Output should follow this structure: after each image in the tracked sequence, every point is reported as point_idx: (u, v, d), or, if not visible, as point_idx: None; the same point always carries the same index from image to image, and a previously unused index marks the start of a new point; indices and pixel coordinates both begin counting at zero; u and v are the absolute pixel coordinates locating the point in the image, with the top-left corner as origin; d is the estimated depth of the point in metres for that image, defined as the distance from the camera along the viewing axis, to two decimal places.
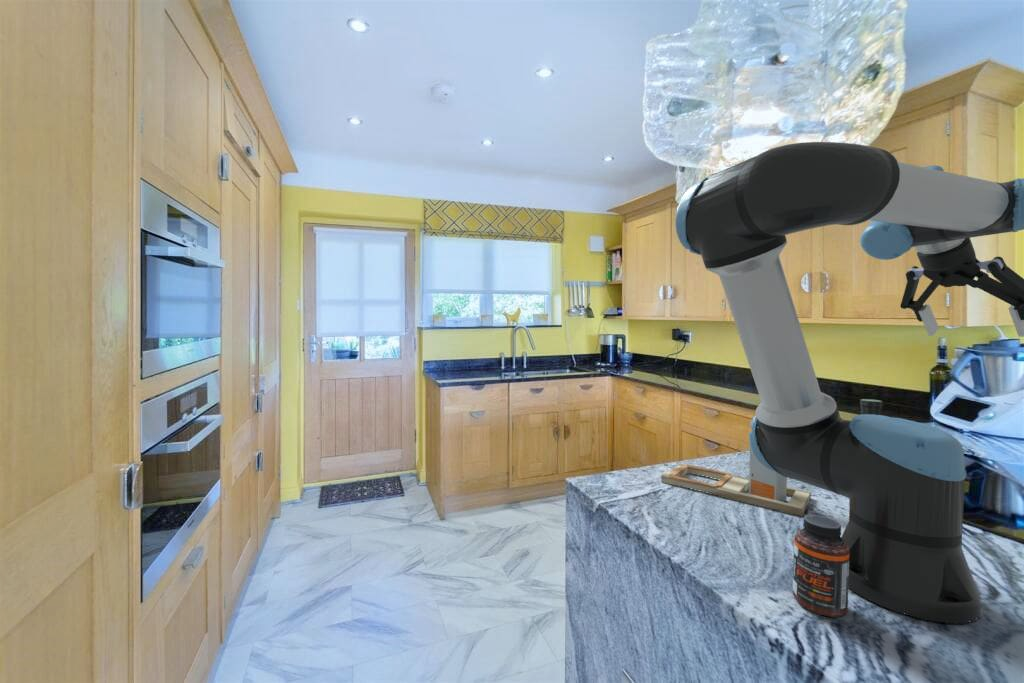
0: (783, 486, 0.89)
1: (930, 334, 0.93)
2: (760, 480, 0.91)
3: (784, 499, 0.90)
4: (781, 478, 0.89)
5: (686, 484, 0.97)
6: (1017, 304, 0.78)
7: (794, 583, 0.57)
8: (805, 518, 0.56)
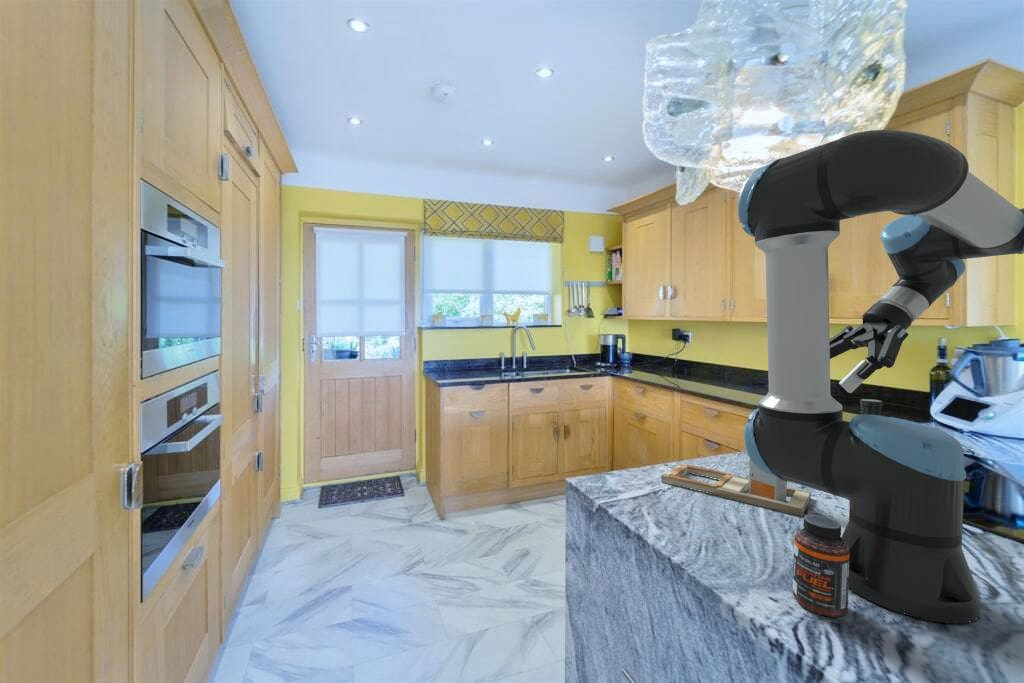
0: (783, 486, 0.89)
1: None
2: (760, 480, 0.91)
3: (784, 499, 0.90)
4: None
5: (686, 484, 0.97)
6: None
7: (794, 583, 0.57)
8: (805, 518, 0.56)
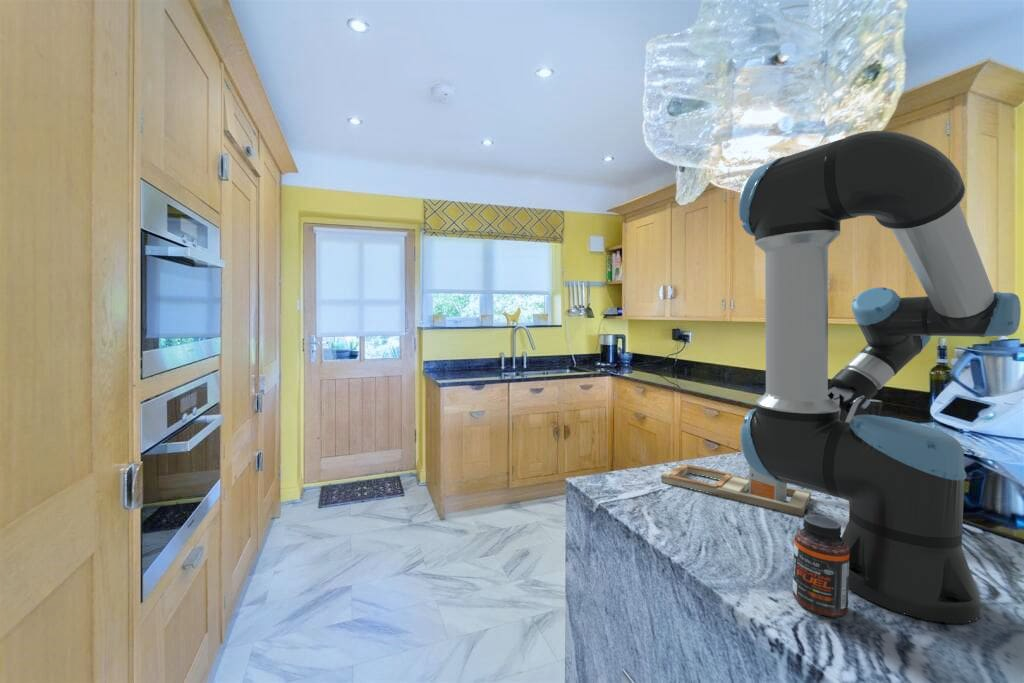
0: (783, 486, 0.89)
1: None
2: (760, 480, 0.91)
3: (784, 499, 0.90)
4: None
5: (686, 484, 0.97)
6: None
7: (794, 583, 0.57)
8: (805, 518, 0.56)
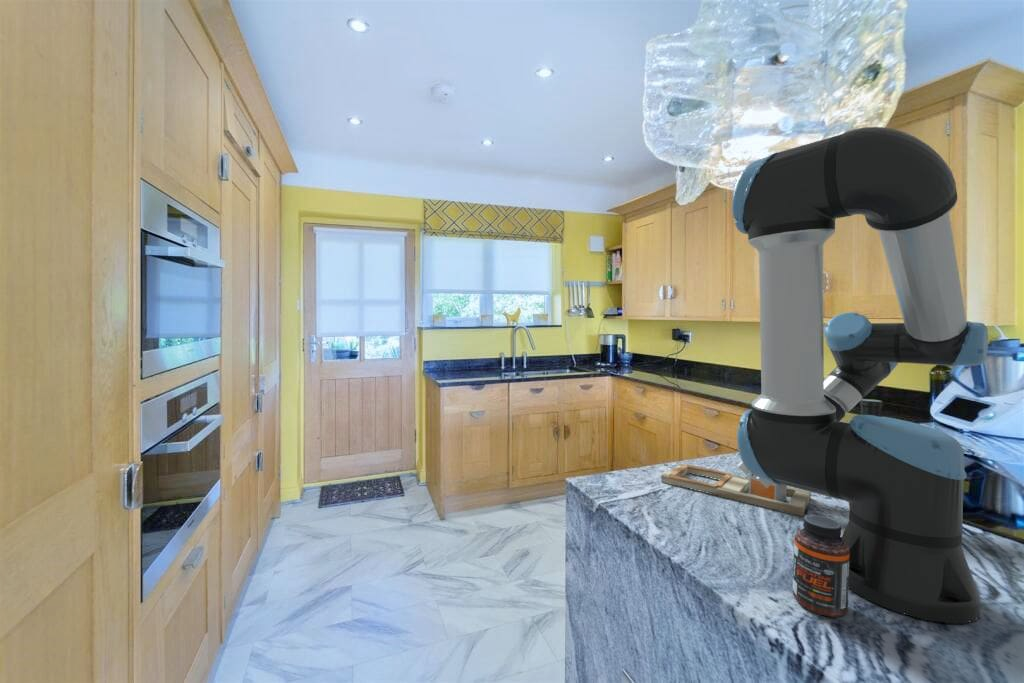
0: (783, 486, 0.89)
1: (738, 465, 0.95)
2: None
3: (784, 499, 0.90)
4: None
5: (686, 484, 0.97)
6: None
7: (794, 583, 0.57)
8: (805, 518, 0.56)
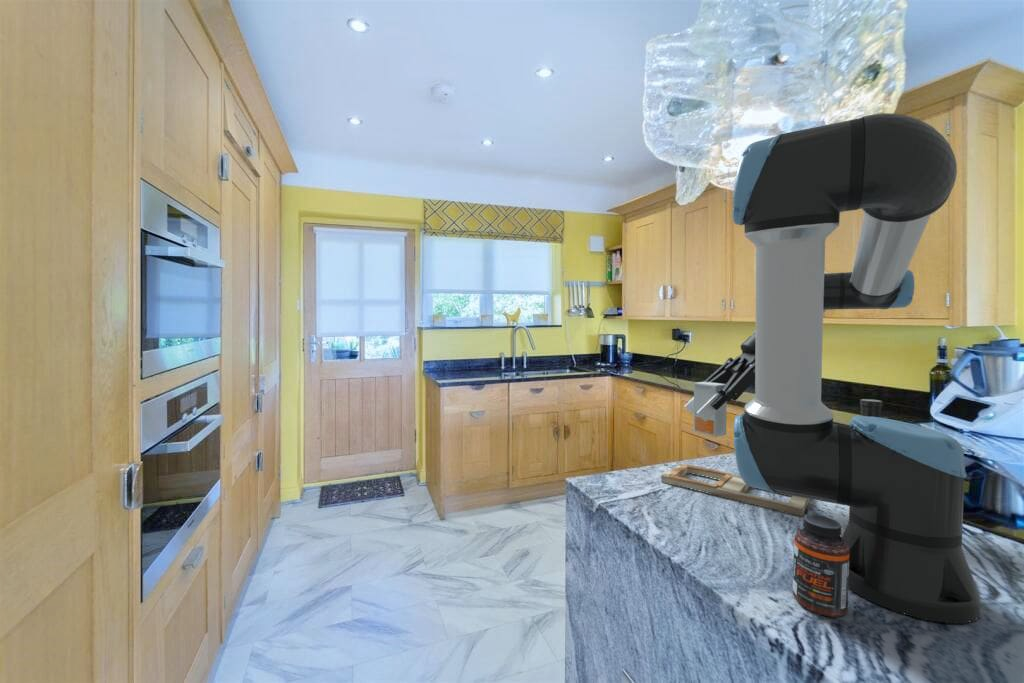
0: (723, 421, 0.98)
1: (685, 405, 1.04)
2: None
3: (724, 433, 0.98)
4: (720, 413, 0.97)
5: (686, 484, 0.97)
6: None
7: (794, 583, 0.57)
8: (805, 518, 0.56)
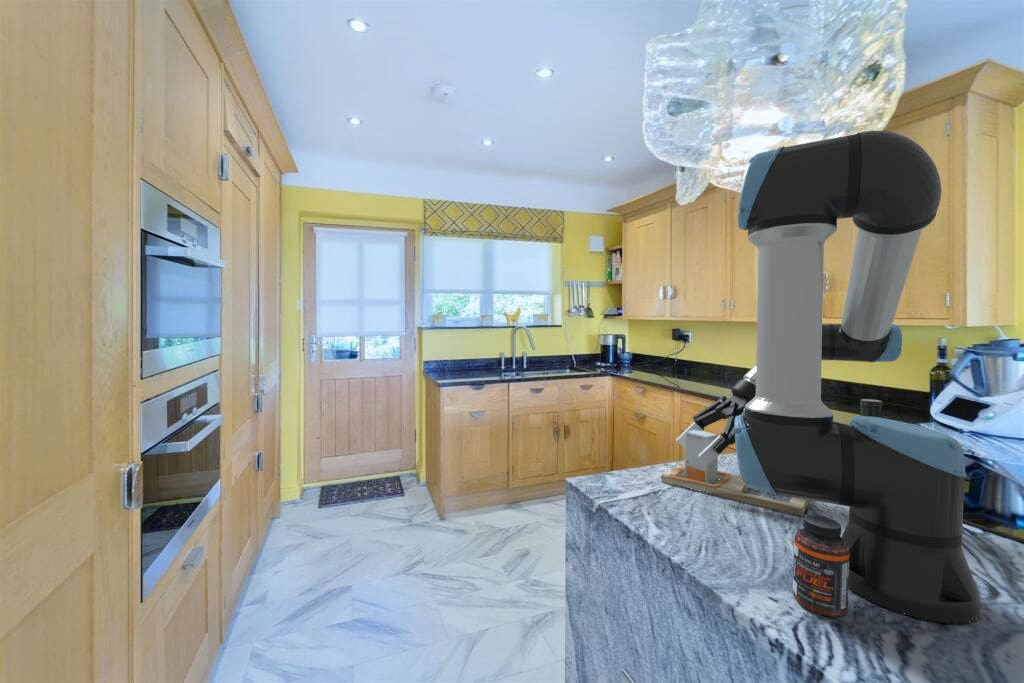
0: (714, 471, 0.98)
1: (677, 439, 1.07)
2: (694, 466, 1.00)
3: (715, 483, 0.99)
4: (711, 464, 0.98)
5: (686, 484, 0.97)
6: None
7: (794, 583, 0.57)
8: (805, 518, 0.56)
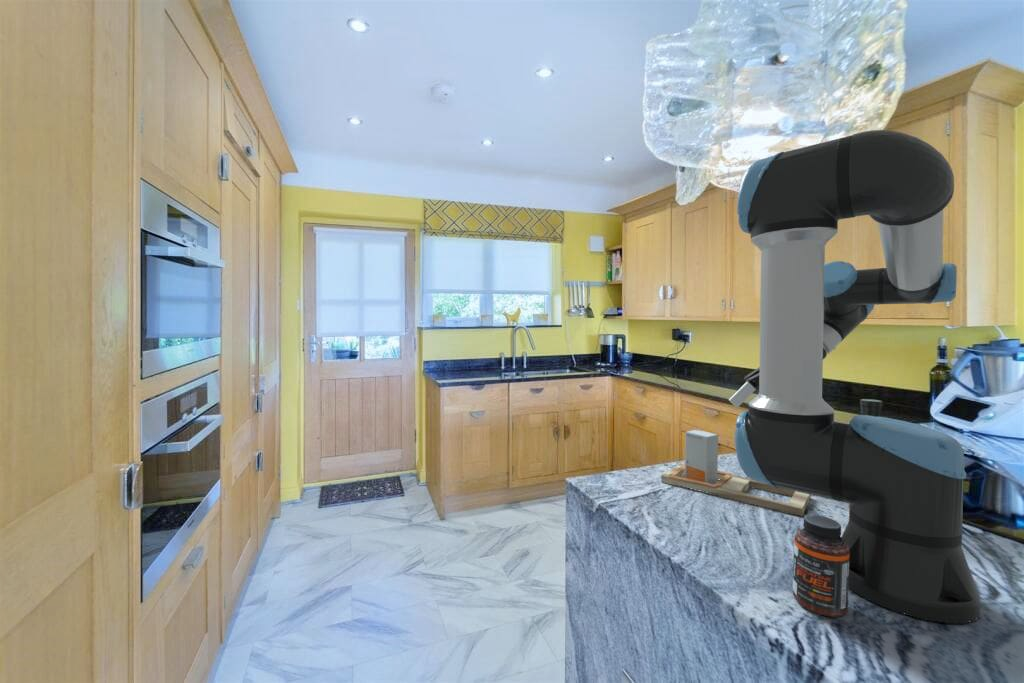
0: (714, 471, 0.98)
1: (730, 399, 1.07)
2: (694, 466, 1.00)
3: (715, 483, 0.99)
4: (711, 464, 0.98)
5: (686, 484, 0.97)
6: None
7: (794, 583, 0.57)
8: (805, 518, 0.56)
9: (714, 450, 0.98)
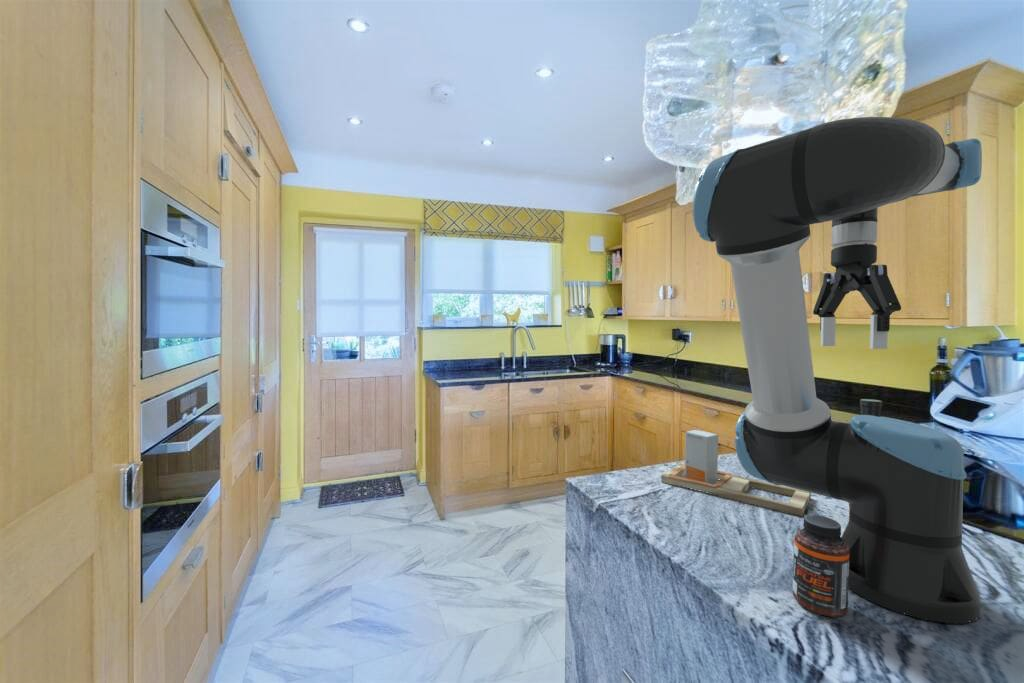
0: (714, 471, 0.98)
1: (821, 344, 0.96)
2: (694, 466, 1.00)
3: (715, 483, 0.99)
4: (711, 464, 0.98)
5: (686, 484, 0.97)
6: None
7: (794, 583, 0.57)
8: (805, 518, 0.56)
9: (714, 450, 0.98)
